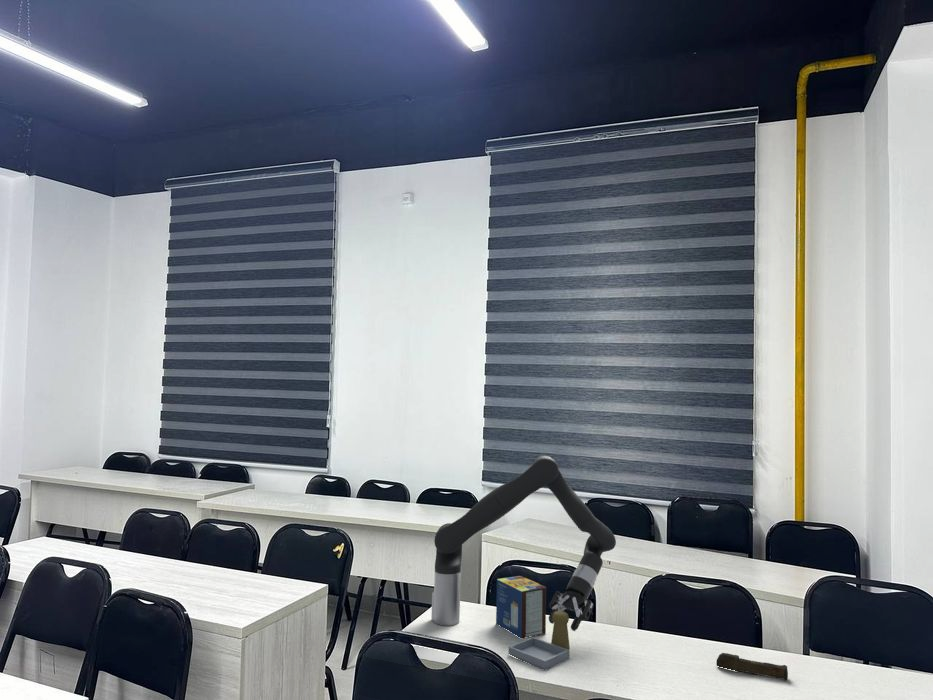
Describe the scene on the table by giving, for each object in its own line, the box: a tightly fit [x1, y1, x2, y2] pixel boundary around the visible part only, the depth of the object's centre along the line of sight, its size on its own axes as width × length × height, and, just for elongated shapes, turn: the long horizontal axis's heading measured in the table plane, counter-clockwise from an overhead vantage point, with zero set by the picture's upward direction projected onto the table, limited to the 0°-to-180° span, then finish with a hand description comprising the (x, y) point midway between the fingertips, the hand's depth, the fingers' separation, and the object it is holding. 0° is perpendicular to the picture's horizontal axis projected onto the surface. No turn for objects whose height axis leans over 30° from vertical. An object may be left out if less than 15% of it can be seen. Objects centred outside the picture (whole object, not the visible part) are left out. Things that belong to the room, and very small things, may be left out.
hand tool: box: [716, 652, 789, 681], centre depth 182 cm, size 19×4×5 cm, turn 65°
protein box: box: [495, 575, 547, 639], centre depth 213 cm, size 10×15×16 cm
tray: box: [508, 636, 570, 671], centre depth 189 cm, size 14×12×3 cm
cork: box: [550, 611, 571, 651], centre depth 197 cm, size 6×6×11 cm
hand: (561, 625), depth 198 cm, fingers open, 8 cm apart
